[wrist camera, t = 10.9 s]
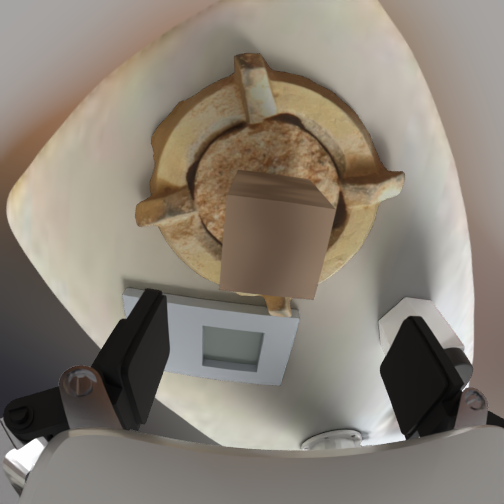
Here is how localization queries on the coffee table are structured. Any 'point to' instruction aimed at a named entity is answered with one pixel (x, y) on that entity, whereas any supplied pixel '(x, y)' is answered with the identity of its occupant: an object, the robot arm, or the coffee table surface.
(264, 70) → the ashtray
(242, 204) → the block
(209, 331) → the pocket board
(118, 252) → the coffee table surface
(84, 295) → the coffee table surface
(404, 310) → the jar
